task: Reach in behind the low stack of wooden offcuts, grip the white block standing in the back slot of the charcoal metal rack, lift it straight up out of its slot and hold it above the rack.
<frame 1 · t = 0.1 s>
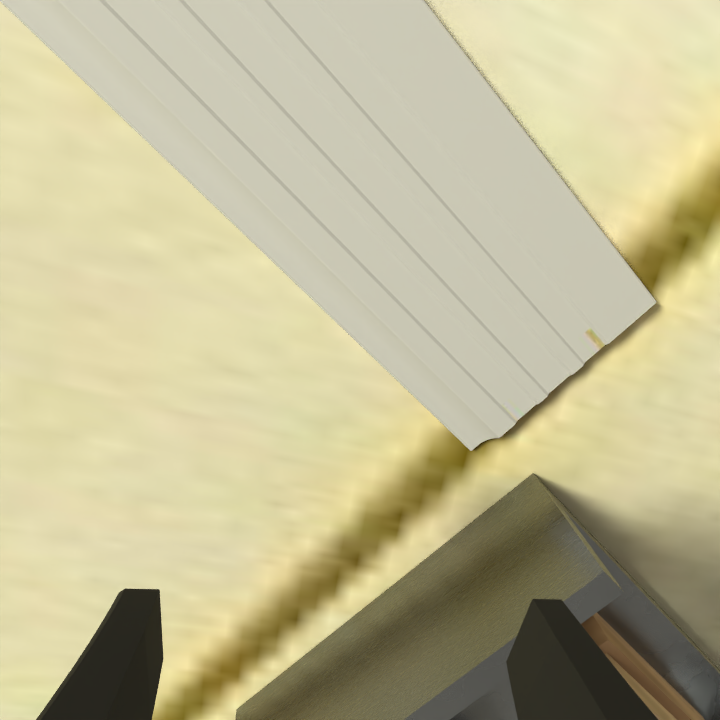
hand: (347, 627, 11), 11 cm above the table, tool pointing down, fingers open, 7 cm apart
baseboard: (239, 65, 18), on the table
offcut stack: (601, 678, 26), point 1 cm above the table, touching rack
rack: (513, 709, 28), on the table
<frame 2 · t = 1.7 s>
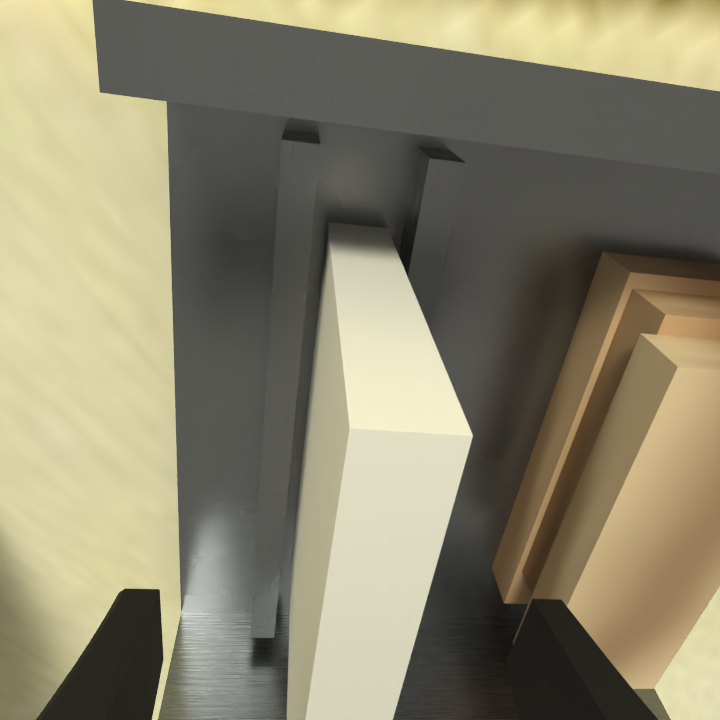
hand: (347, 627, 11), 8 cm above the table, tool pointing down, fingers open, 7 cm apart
offcut stack: (597, 438, 18), point 1 cm above the table, touching rack
rack: (452, 408, 19), on the table
white block: (331, 422, 17), point 1 cm above the table, touching rack
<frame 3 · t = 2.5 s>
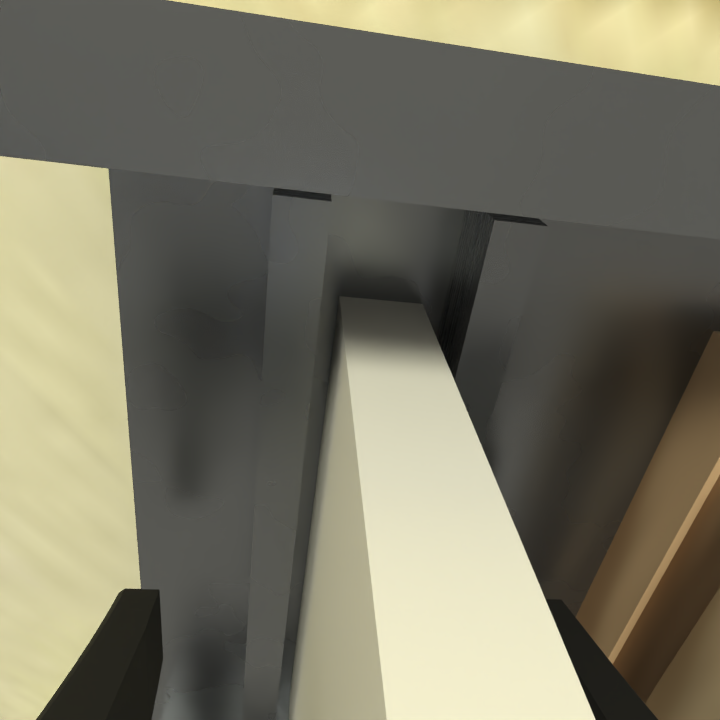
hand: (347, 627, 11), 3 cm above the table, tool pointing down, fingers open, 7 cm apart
offcut stack: (682, 553, 14), point 1 cm above the table, touching rack
rack: (495, 510, 15), on the table
white block: (341, 541, 13), point 1 cm above the table, touching rack
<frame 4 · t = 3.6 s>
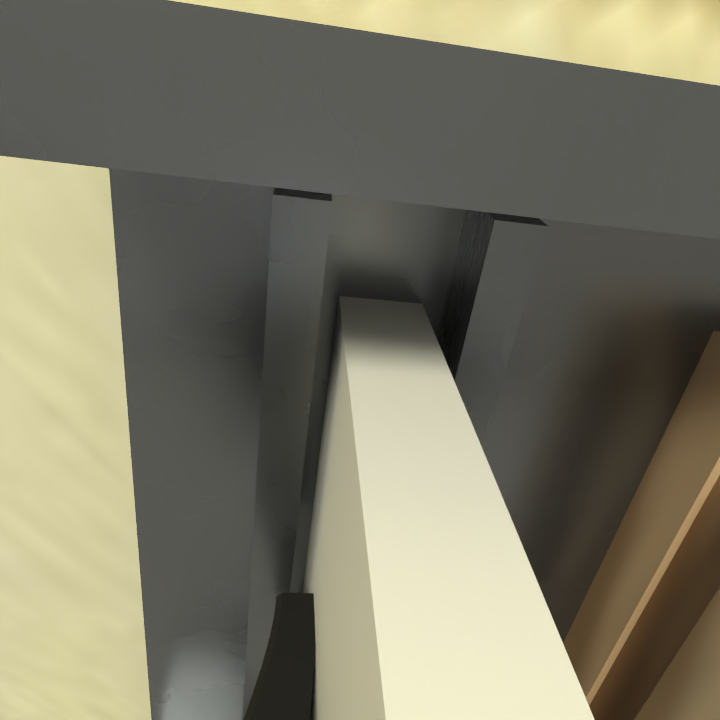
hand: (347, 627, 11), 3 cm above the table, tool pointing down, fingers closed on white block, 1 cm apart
offcut stack: (682, 553, 14), point 1 cm above the table, touching rack
rack: (495, 510, 15), on the table
white block: (341, 540, 13), point 1 cm above the table, touching gripper
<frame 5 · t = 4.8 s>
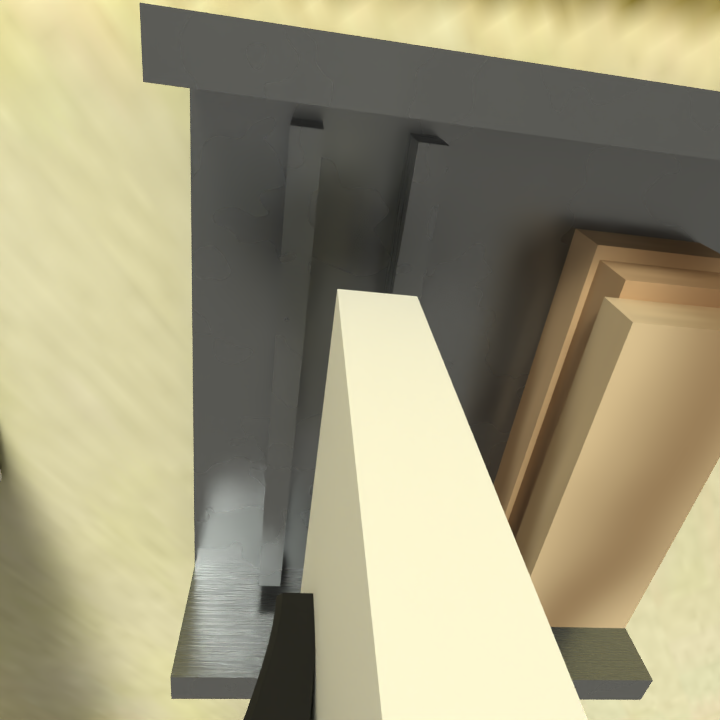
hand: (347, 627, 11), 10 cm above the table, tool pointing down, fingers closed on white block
offcut stack: (575, 402, 20), point 1 cm above the table, touching rack
rack: (443, 375, 20), on the table
white block: (340, 527, 14), point 7 cm above the table, touching gripper
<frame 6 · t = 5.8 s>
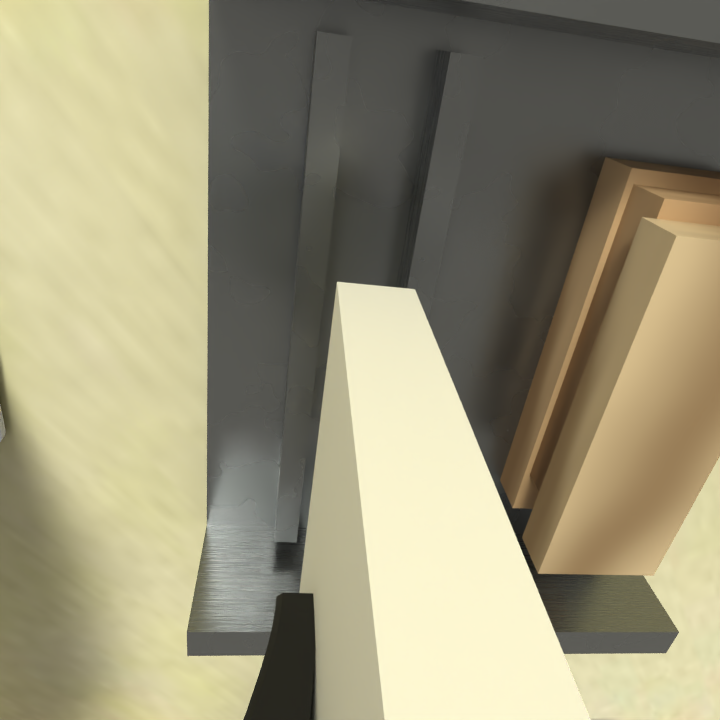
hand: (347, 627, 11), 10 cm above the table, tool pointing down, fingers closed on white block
offcut stack: (600, 347, 19), point 1 cm above the table, touching rack
rack: (464, 321, 20), on the table
white block: (339, 517, 14), point 7 cm above the table, touching gripper
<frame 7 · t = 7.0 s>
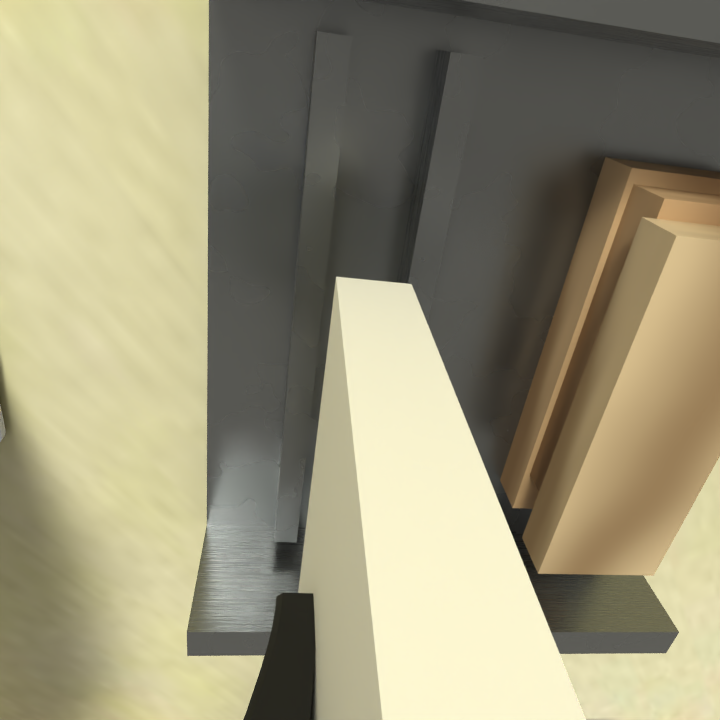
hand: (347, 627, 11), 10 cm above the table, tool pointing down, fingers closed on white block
offcut stack: (600, 347, 19), point 1 cm above the table, touching rack
rack: (464, 321, 20), on the table
white block: (338, 507, 14), point 7 cm above the table, touching gripper
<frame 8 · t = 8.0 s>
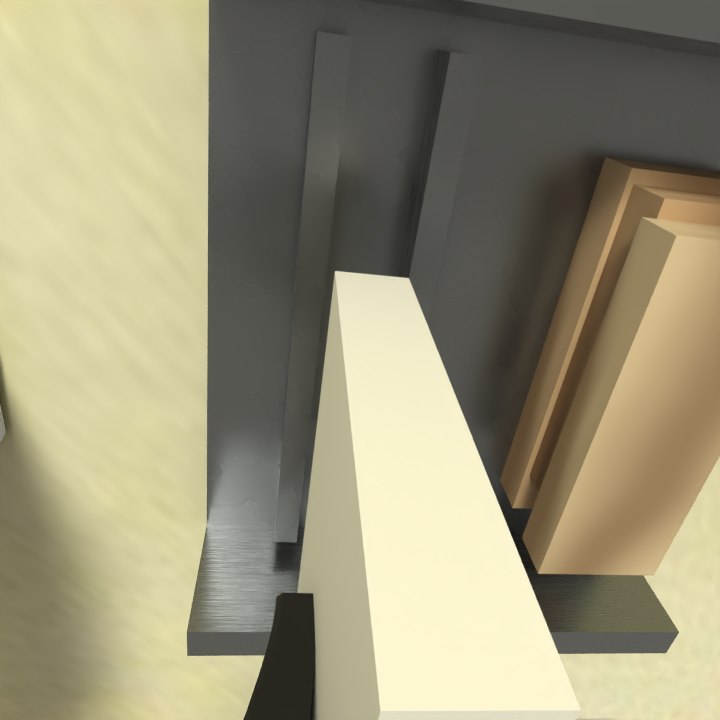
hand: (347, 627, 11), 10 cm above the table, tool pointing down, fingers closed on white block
offcut stack: (600, 347, 19), point 1 cm above the table, touching rack
rack: (464, 321, 20), on the table
white block: (338, 498, 14), point 7 cm above the table, touching gripper
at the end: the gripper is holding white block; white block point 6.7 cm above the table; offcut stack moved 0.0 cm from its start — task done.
